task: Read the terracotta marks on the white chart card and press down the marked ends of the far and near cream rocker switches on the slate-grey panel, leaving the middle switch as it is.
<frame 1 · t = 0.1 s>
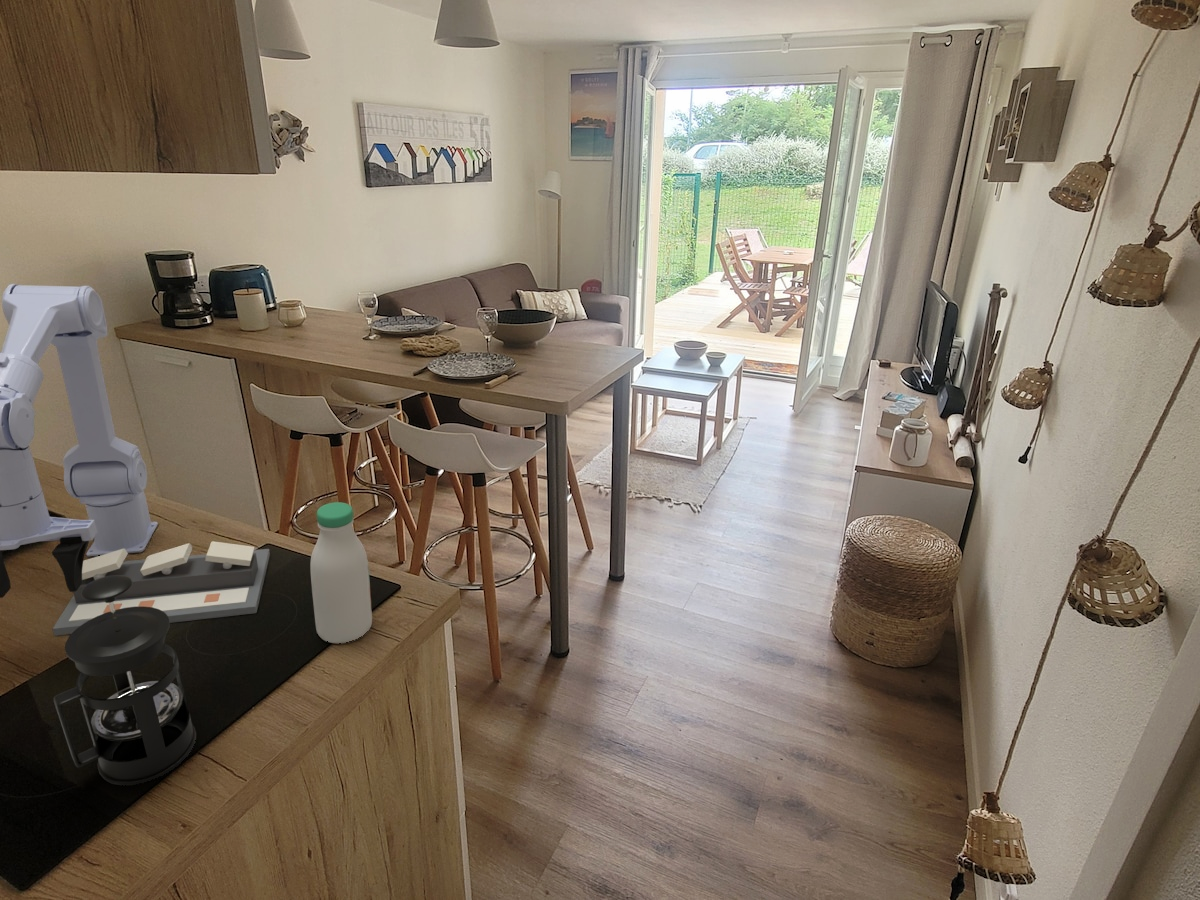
hand: (40, 590, 84), 10 cm above the table, tool pointing down, fingers open, 7 cm apart
french press: (144, 754, 76), on the table
switch near: (101, 567, 97), point 5 cm above the table, hinge at 16.0°
milk bottle: (345, 628, 98), on the table
switch far: (229, 556, 102), point 5 cm above the table, hinge at -16.0°
switch panel: (173, 591, 102), on the table
switch middle: (168, 561, 100), point 5 cm above the table, hinge at 16.0°
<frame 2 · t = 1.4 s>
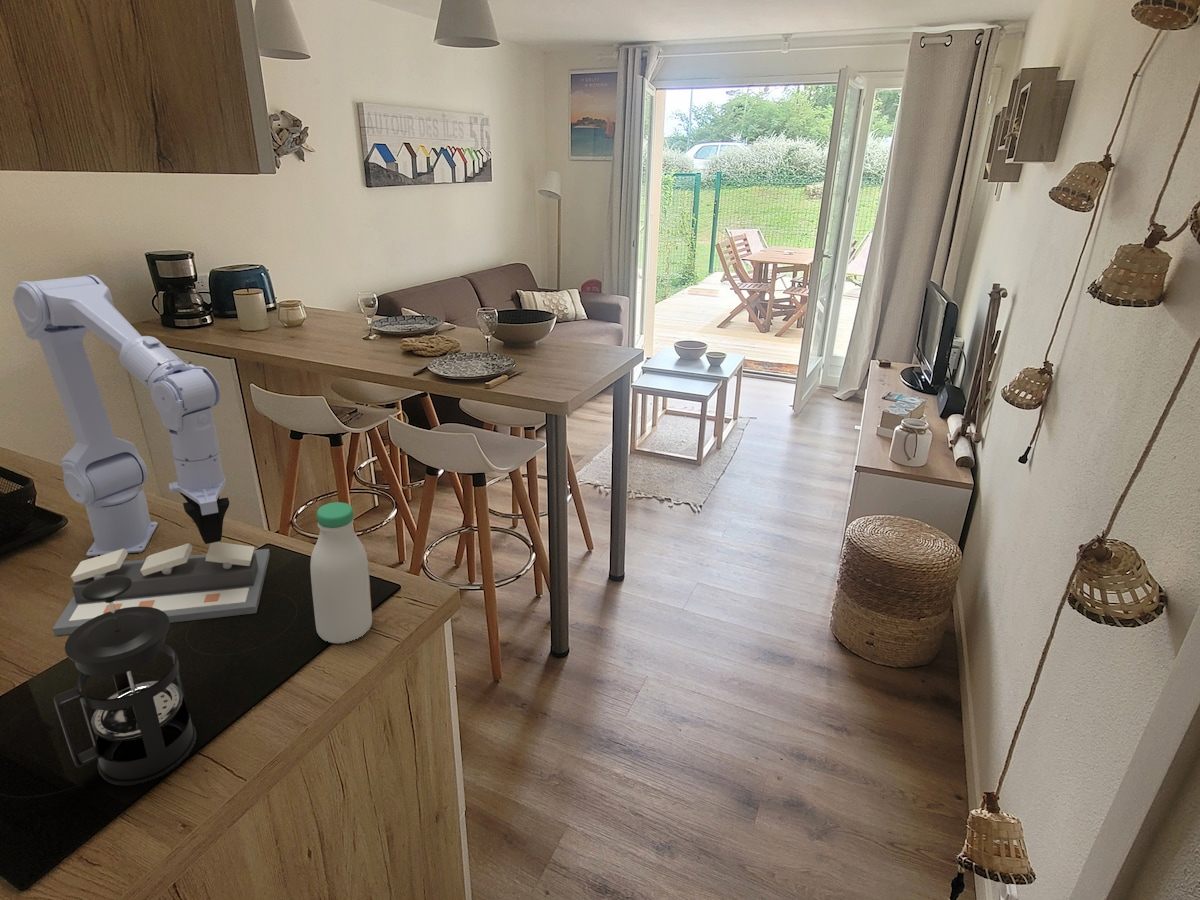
hand: (210, 534, 100), 9 cm above the table, tool pointing down, fingers open, 4 cm apart
nothing on the table moved.
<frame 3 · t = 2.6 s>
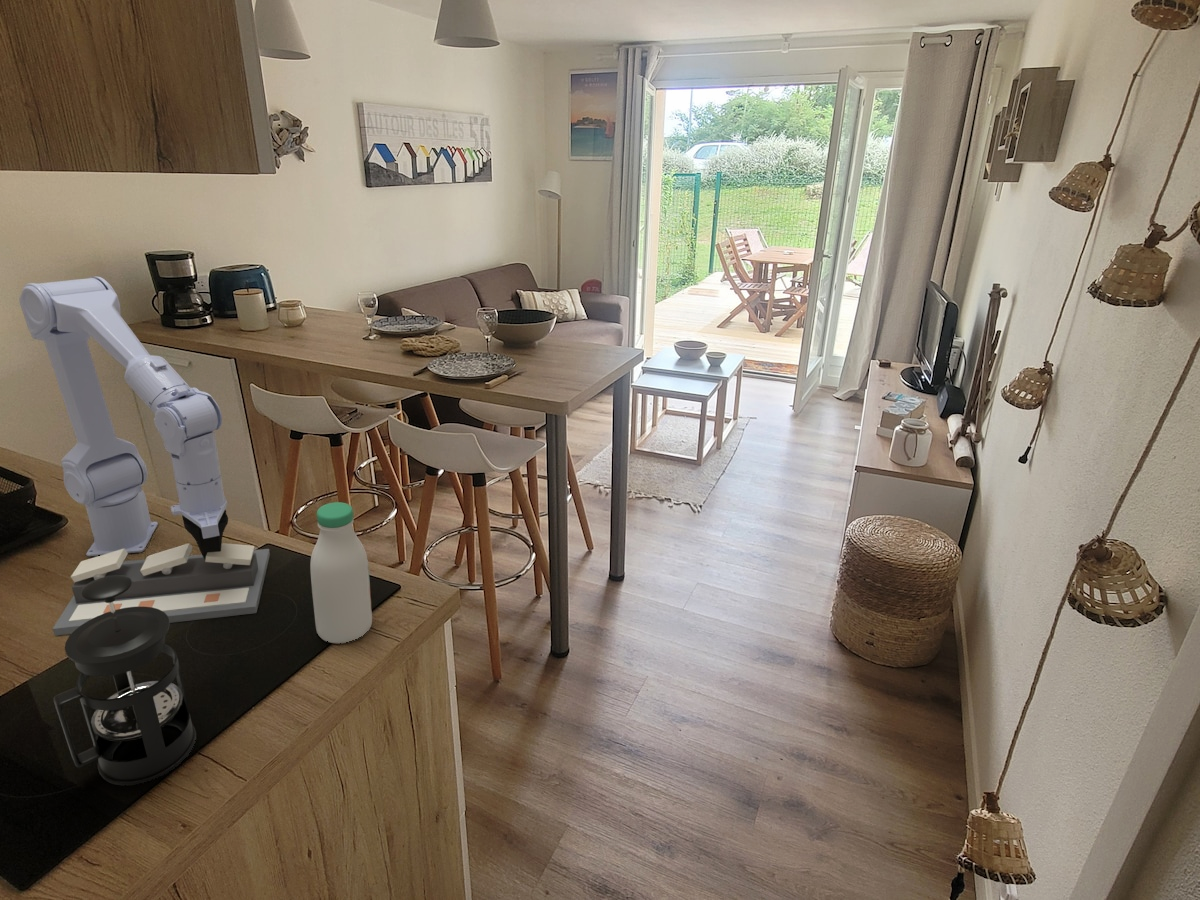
hand: (211, 556, 101), 6 cm above the table, tool pointing down, fingers closed, pressing on switch far
switch far: (230, 556, 102), point 5 cm above the table, hinge at -12.8°, touching gripper
everything else where it was.
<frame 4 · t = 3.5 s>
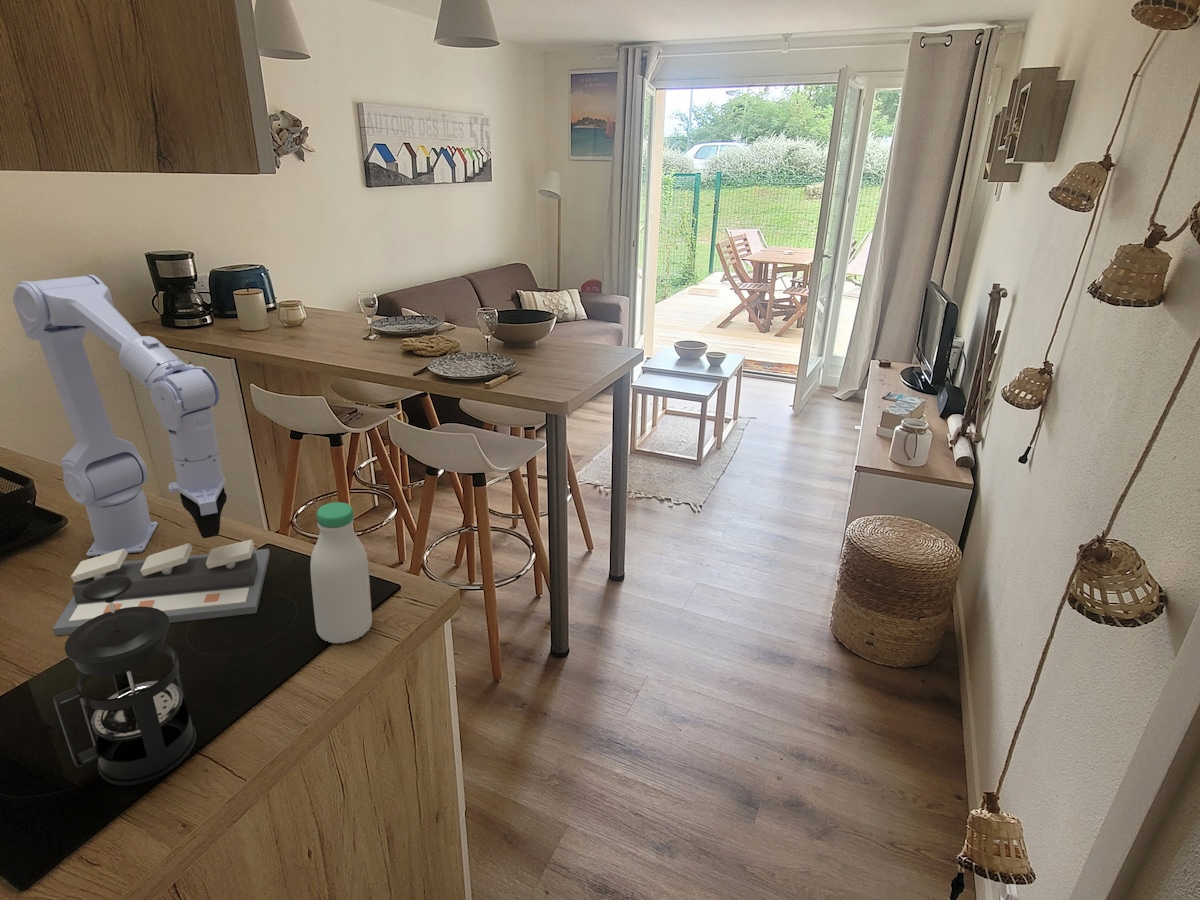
hand: (210, 534, 100), 9 cm above the table, tool pointing down, fingers closed
switch far: (231, 556, 102), point 5 cm above the table, hinge at 11.2°
everything else where it was.
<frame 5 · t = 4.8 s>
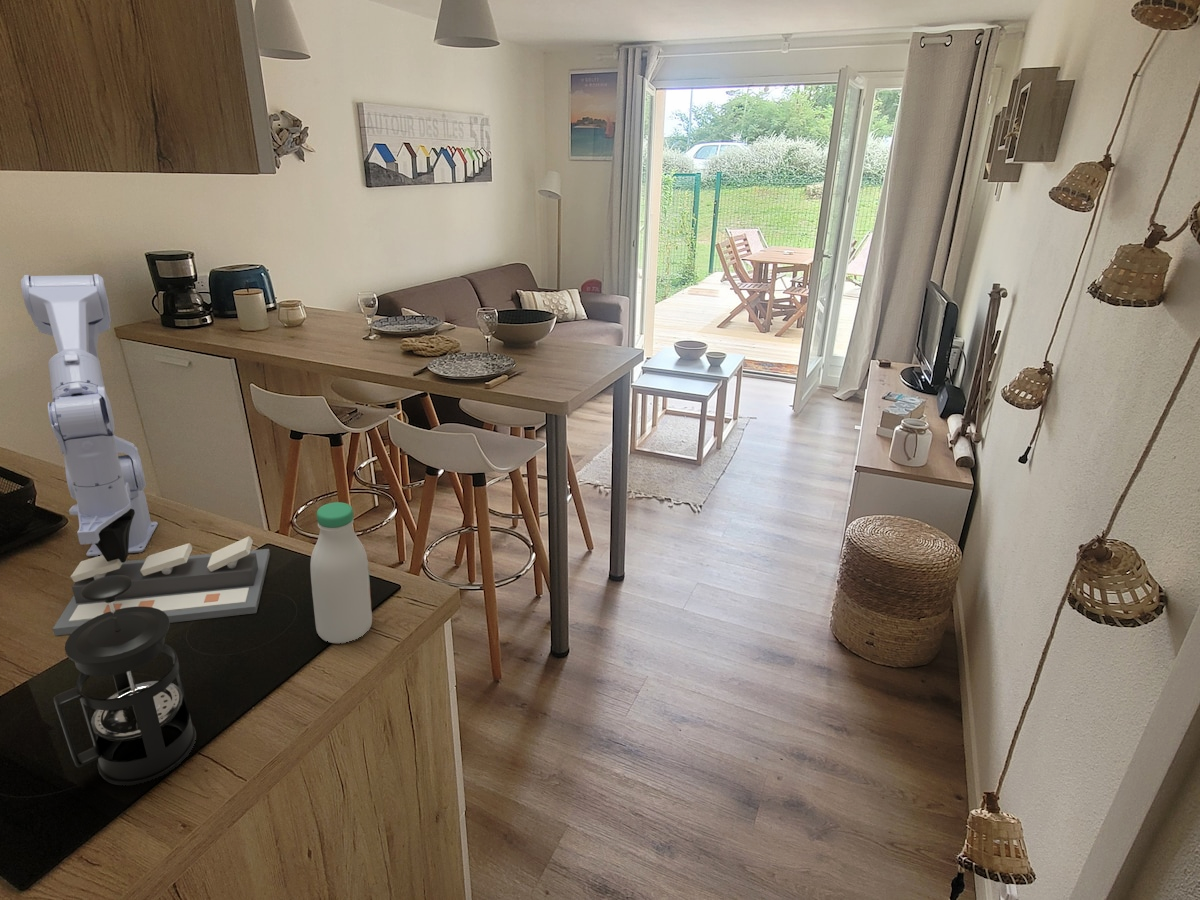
hand: (118, 560, 97), 6 cm above the table, tool pointing down, fingers closed, pressing on switch near
switch near: (101, 567, 97), point 5 cm above the table, hinge at 15.6°, touching gripper
switch far: (232, 556, 102), point 5 cm above the table, hinge at 24.4°
everything else where it was.
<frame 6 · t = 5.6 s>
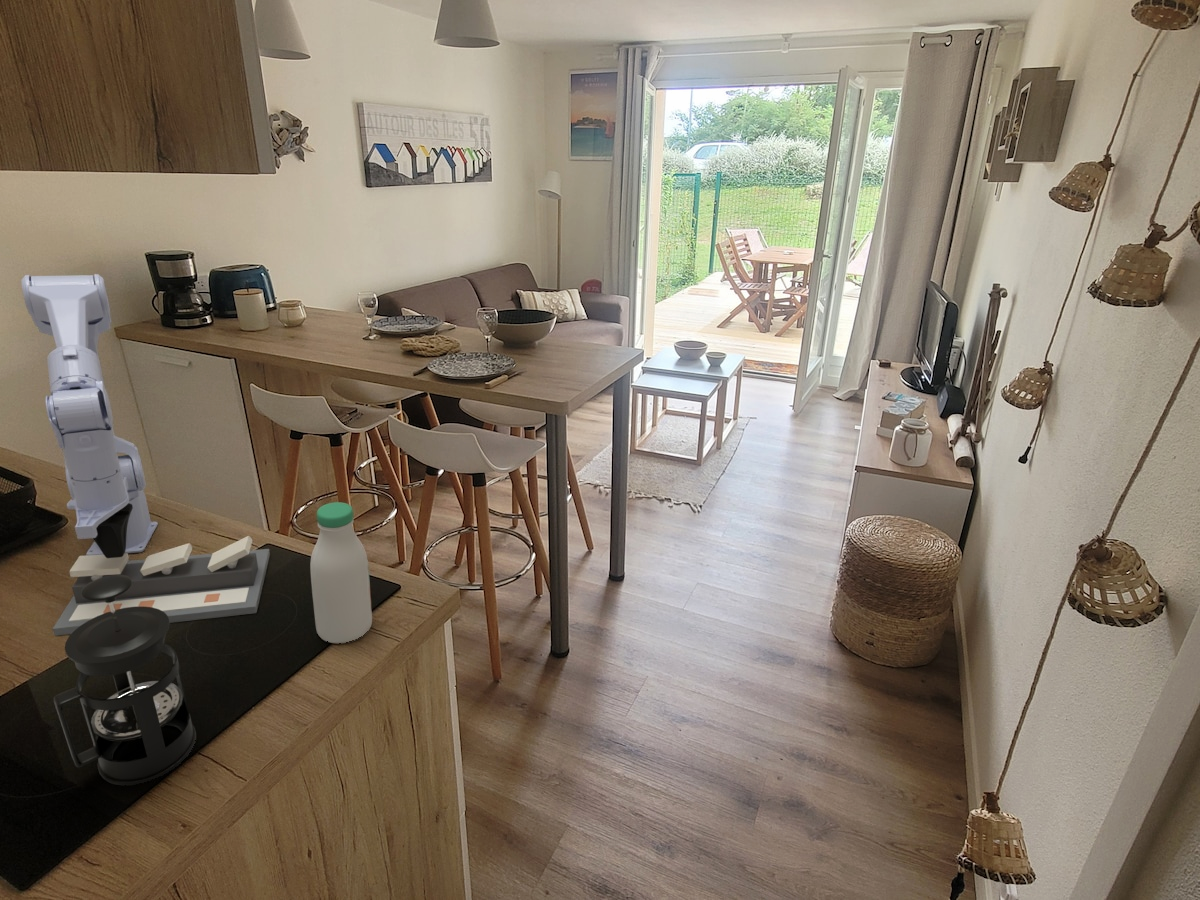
hand: (115, 555, 97), 7 cm above the table, tool pointing down, fingers closed
switch near: (100, 567, 97), point 5 cm above the table, hinge at -2.5°
switch far: (232, 555, 102), point 5 cm above the table, hinge at 26.6°
everything else where it was.
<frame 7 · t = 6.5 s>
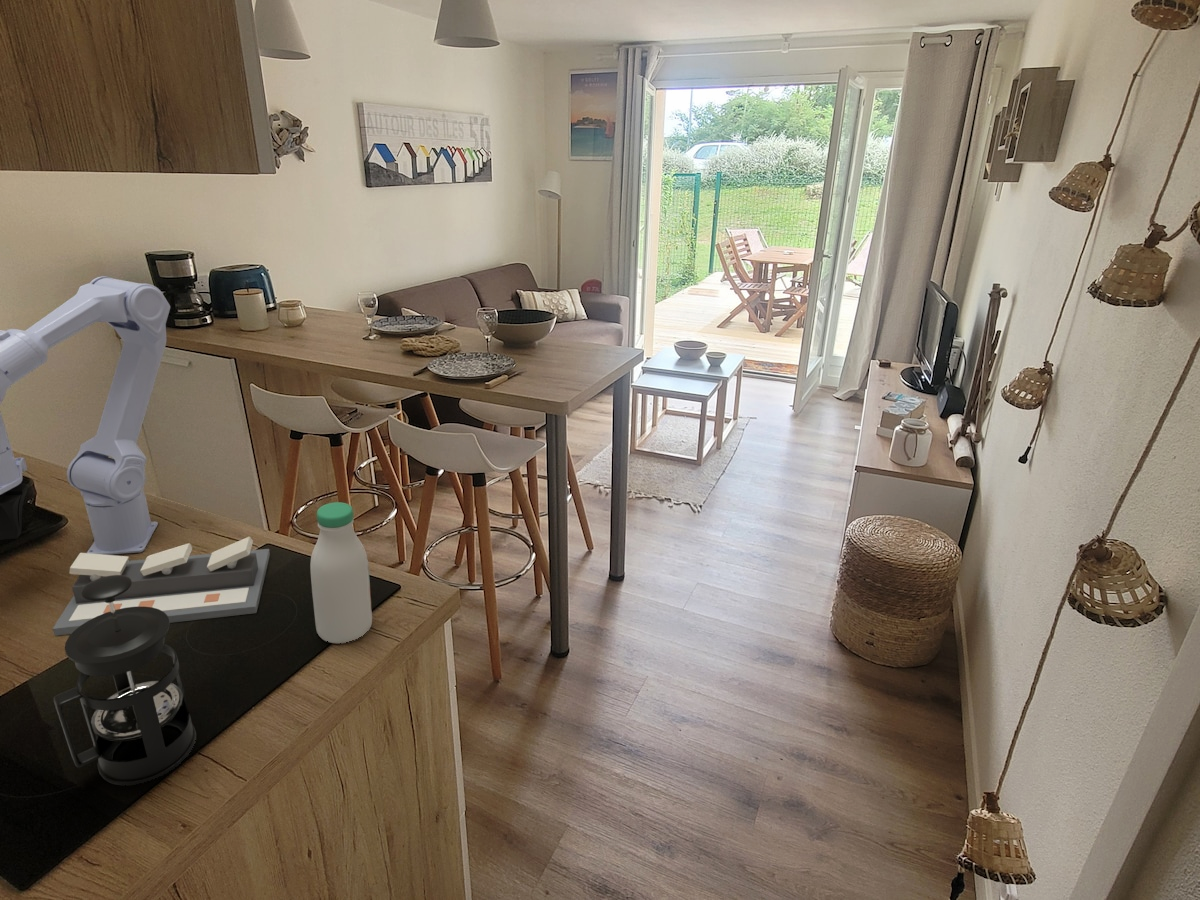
hand: (10, 536, 95), 9 cm above the table, tool pointing down, fingers closed
switch near: (99, 567, 97), point 5 cm above the table, hinge at -13.2°
switch far: (232, 556, 102), point 5 cm above the table, hinge at 23.1°
everything else where it was.
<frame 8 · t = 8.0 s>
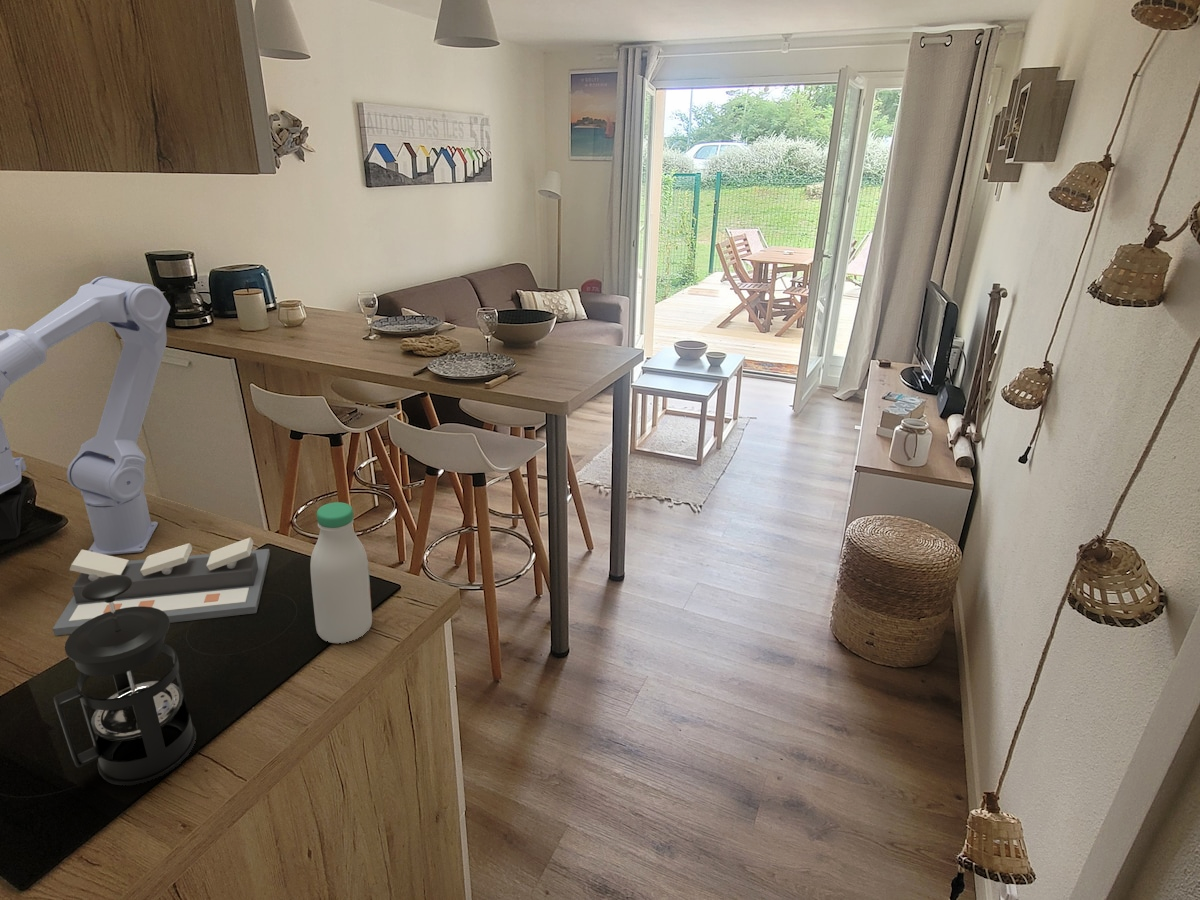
hand: (9, 536, 95), 9 cm above the table, tool pointing down, fingers closed
switch near: (99, 567, 97), point 5 cm above the table, hinge at -24.8°
switch far: (232, 556, 102), point 5 cm above the table, hinge at 19.3°
everything else where it was.
at the end: switch near at -25° (first picture: +16°); switch far at +19° (first picture: -16°); switch middle at +16° (first picture: +16°) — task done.
